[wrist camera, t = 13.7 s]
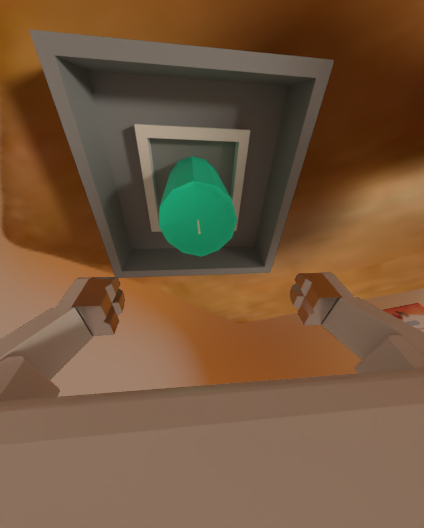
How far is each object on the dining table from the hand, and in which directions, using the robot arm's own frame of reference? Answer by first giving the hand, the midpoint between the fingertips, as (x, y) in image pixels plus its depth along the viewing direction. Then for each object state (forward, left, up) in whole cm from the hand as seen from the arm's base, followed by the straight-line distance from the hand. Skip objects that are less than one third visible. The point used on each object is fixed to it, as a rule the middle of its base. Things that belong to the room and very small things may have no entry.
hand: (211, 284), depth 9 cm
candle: (0, 0, -18) cm, 18 cm away
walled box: (0, 0, -18) cm, 18 cm away
